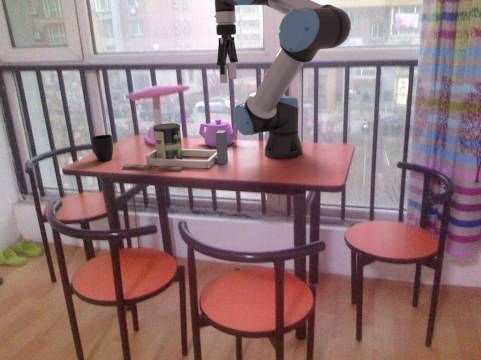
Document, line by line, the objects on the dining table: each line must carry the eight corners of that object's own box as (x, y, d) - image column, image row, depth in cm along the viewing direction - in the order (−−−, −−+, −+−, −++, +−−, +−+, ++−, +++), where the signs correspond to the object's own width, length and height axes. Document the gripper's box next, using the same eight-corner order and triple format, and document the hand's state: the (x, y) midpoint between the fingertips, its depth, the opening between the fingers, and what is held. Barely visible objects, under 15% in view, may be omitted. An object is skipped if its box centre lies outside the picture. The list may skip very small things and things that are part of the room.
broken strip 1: (152, 167, 159) (152, 165, 159) (149, 170, 157) (149, 167, 156) (126, 166, 162) (126, 163, 162) (122, 168, 159) (122, 166, 159)
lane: (231, 156, 168) (230, 127, 164) (220, 168, 154) (218, 136, 150) (163, 154, 175) (160, 126, 171) (146, 165, 161) (143, 135, 157)
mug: (122, 154, 179) (119, 132, 175) (109, 163, 167) (106, 139, 164) (104, 154, 180) (101, 132, 177) (90, 162, 169) (86, 139, 166)
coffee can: (186, 157, 171) (183, 122, 166) (178, 164, 161) (175, 128, 156) (162, 156, 172) (158, 123, 168) (153, 164, 163) (148, 128, 158)
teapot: (237, 149, 179) (236, 123, 175) (194, 147, 185) (192, 122, 181) (246, 141, 191) (246, 117, 187) (206, 139, 197) (204, 116, 193)
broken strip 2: (183, 168, 156) (183, 166, 156) (180, 171, 153) (180, 168, 153) (161, 167, 158) (161, 165, 158) (157, 170, 156) (157, 167, 155)
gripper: (225, 24, 172) (228, 77, 179) (205, 24, 149) (209, 85, 157) (243, 23, 170) (245, 77, 177) (226, 23, 148) (229, 85, 155)
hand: (228, 81), depth 167 cm, fingers open, 13 cm apart
